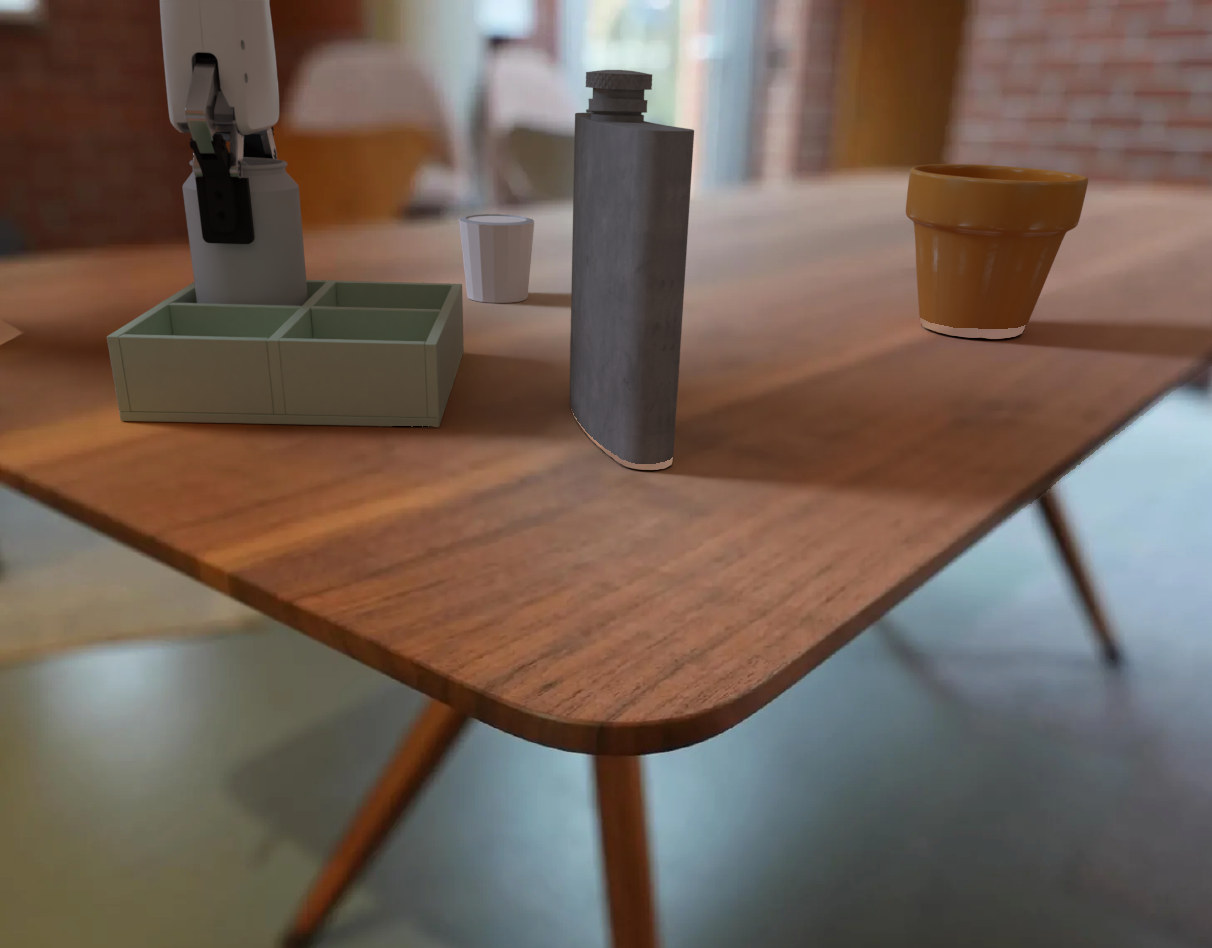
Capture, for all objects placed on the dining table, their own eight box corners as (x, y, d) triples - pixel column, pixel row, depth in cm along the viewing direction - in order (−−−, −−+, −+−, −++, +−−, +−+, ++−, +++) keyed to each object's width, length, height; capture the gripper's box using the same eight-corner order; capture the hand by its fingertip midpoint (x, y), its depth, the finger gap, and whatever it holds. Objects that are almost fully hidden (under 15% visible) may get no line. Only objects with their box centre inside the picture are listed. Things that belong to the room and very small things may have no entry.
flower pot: (955, 353, 90) (985, 181, 84) (856, 316, 102) (877, 163, 96) (1091, 343, 95) (1128, 180, 89) (982, 309, 106) (1008, 163, 101)
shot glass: (520, 288, 108) (520, 212, 105) (544, 302, 103) (545, 223, 100) (451, 291, 106) (449, 214, 103) (472, 306, 100) (470, 224, 97)
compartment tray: (120, 421, 67) (106, 336, 65) (209, 346, 84) (201, 276, 82) (439, 427, 68) (436, 344, 66) (463, 352, 85) (462, 283, 83)
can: (231, 357, 74) (209, 165, 69) (183, 336, 79) (159, 154, 74) (331, 342, 79) (317, 161, 74) (280, 323, 84) (264, 152, 79)
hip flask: (680, 469, 62) (706, 75, 54) (609, 473, 62) (625, 72, 53) (610, 392, 76) (622, 68, 67) (552, 394, 75) (556, 65, 66)
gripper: (193, -58, 76) (224, 215, 84) (97, -86, 60) (147, 252, 68) (305, -54, 76) (325, 218, 84) (239, -80, 60) (271, 256, 68)
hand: (245, 231), depth 76 cm, fingers closed on can, 7 cm apart
